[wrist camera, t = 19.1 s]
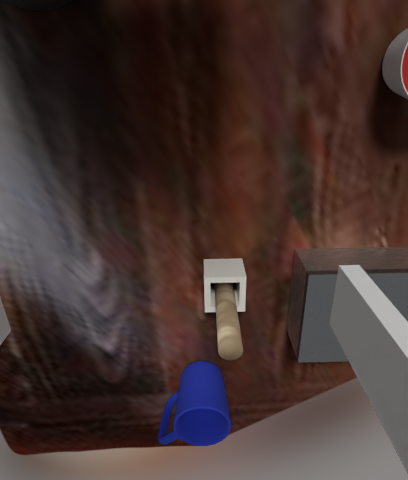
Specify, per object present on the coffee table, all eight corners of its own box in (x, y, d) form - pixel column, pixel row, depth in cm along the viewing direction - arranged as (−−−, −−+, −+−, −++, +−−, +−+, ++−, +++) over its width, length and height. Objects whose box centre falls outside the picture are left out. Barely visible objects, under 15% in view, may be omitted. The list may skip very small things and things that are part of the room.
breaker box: (286, 329, 54) (297, 362, 48) (294, 249, 48) (308, 274, 42) (401, 326, 54) (428, 359, 48) (424, 246, 48) (458, 271, 42)
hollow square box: (204, 291, 51) (204, 312, 46) (203, 259, 49) (204, 277, 44) (241, 290, 51) (245, 311, 46) (242, 258, 49) (246, 276, 44)
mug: (149, 380, 58) (140, 435, 49) (206, 346, 55) (207, 398, 46) (180, 407, 61) (176, 464, 52) (236, 376, 58) (242, 431, 49)
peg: (214, 284, 50) (218, 360, 37) (213, 268, 49) (218, 341, 36) (231, 284, 50) (242, 360, 37) (232, 268, 49) (243, 341, 36)
